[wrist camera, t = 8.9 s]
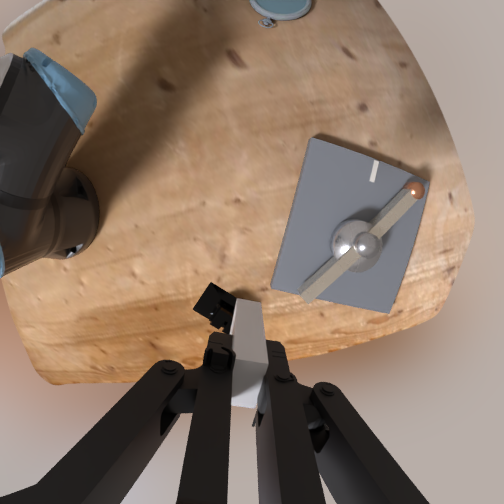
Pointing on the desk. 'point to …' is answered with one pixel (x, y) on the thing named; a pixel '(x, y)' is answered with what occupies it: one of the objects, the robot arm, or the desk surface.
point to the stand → (338, 210)
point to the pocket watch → (280, 9)
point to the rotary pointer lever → (360, 242)
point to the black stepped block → (217, 307)
